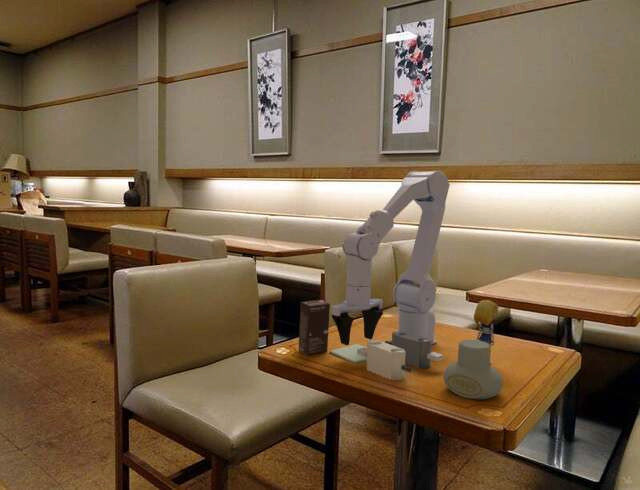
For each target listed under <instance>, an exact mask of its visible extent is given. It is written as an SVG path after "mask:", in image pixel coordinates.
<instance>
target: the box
mask: <svg viewBox="0 0 640 490" xmlns="http://www.w3.org/2000/svg"><path fill="white" fill-rule="evenodd" d="M299 308H300V311H299V330H298V333H299V334H298V351H299V352H301V353H302V354H304V355H306V356H309V355H313V354H319V353H325V352H328V345H329V344H328V343H329V328H330V310H331V309H330V308H331V304H330V302H327V301H325V300H322V299H316V300H308V301H307V300H306V301H301V302H300V307H299Z"/></svg>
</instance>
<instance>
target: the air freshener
mask: <svg viewBox="0 0 640 490" xmlns="http://www.w3.org/2000/svg"><path fill="white" fill-rule="evenodd" d="M491 349H492V345H491V346H490V345H489V344H487V343H485V342H482V341H480V340H479V339H478V340H476V339H464V340H461V341H460V342H459V343H458V351H457V361H453V362H452V363H450V364H449V365H448V366H447V367H446V368H445V369H444V372H443V375H442V376H443V381H444V384H445V385H446V387H447V388H448V390H450V391H451V392H452V393H453V394H455V395H457V396H459V397H462V398H465V399H469V400H475V401H476V400H477V401H478V400H479V401H480V400H481V401H483V400H487V399H491V398H493V397H495V396H497V395H499V393H500V392H501V391H502V389H503V385H504V380H503V377H502V375H501V374H500V372H499V371H498V370H497V369H496V368H495V367H494V366H492V365H490V363H491V352H492V351H491Z"/></svg>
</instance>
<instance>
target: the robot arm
mask: <svg viewBox="0 0 640 490" xmlns="http://www.w3.org/2000/svg"><path fill="white" fill-rule="evenodd" d="M450 185H451V184H450V182H449V179H448V177H447V176H446V174H445V172H443V171H442V170H435V171H410V172H409V173H407V174H406V176H405V177H404V178H403V179H402V180H401V185H400V187H399V189H397V190H396V192H395V193H394V194H393V196H392V197H391V198H390V199H389V201H388V202H387V204H386V205H385V206H384V207H383V209H376V210H375V211H371V212H370V213H369V217H368V218H367V219H366V220H365V221H364V223H362V224H361V226H359V227H358V228H357V230H356V232H351V233H350V234H348V235H347V236H346V237H345V240H344V241H343V243H342V245H341V247H342V249H341V250H342V252H343V253H344V254H345V255H344V256H345V262H346V287H345V288H346V289H345V290H346V291H345V292H346V293H345V300H344V302H341V303H339V304H337V305H336V304H335V305H332V306H331V318H332V320H333V322H334V323H335V326H336V328H337V331H338V334H339V335H338V336H339V340H340V344H342V345H344V346H350V339H351V329H352V325H353V323H354V319H355V318H354V317H352V316H350V313H356V312H361V314H362V319H363V335H364V338H365V339H367V340H369V341H370V340H373V337H374V334H375V331H376V328H377V325H378V324H379V321H380V319H381V318H382V316H383V315H384V311H383V309H382V308H383V302H384V301H383V299H379V298H372V297H371V296H372V294H371V293H372V270H373V268H372V266H373V265H372V264H373V257H376V256H377V253H378V250H379V246H380V244H381V242H382V241H383V239H384V238H385V236H387V235H388V234H389V232H391V230H392V229H393V228H394V226H395V225H394V223H395V222H394V219H395V218H396V217H397V216H399V214H400V213H402V211H404V210H405V209H406V208H407V207H408V205H410V203H412V202H413V201H414V202H415V203H416V204H417V206H419V207H420V209H421V214H420V220H419V223H418V228H417V233H416V236H415V239H414V244H413V248H412V252H411V256H410V260H409V265H408V268H407V269H406V271H404V272H403V273H401V274H400V275H399V276H398V281H397V283H396V284H395V286H394V288H393V291H392V297H393V300H394V302H395V303H396V308H398V318H397V321H398V322H397V323H398V324H397V332H405V333H409V334H413V335H417V336H421V337H425V338H428V339H430V340H432V344H431V345H434V344H437V340H435V331H436V317H435V314H434V311H433V310H432V307H433V306H434V304H435V300H436V294H435V293H436V286H437V284H436V282H435V281H434V279H433V278H432V276H431V275H430V272H431V269H432V265H433V261H434V256H435V253H436V252H435V251H436V248H437V245H438V240H439V235H440V232H441V227H442V224H443V220H444V215H445V211H446V202H447V197H448V193H449V190H450ZM417 283H418V284H417ZM371 298H372V299H371ZM389 342H392V338H391V339H390V341H389Z"/></svg>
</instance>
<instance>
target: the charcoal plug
mask: <svg viewBox="0 0 640 490" xmlns="http://www.w3.org/2000/svg"><path fill="white" fill-rule="evenodd" d="M391 339H392V342H391V341H389V340H385V341H384V343H387V344H390V345H393V346H396V347H398V348H401V349H404V350H405V365H408V366H412V367H415V368H420V369H429V368H431V362H432V361H435V362H440V361H442V360H443V359H444V355H443V354H441V353H438V352H435V351H432V345H433V344H432V340H430V339H428V338H425V337H421V336H417V335H413V334H409V333H405V332H398V331H393V332H391Z"/></svg>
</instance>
